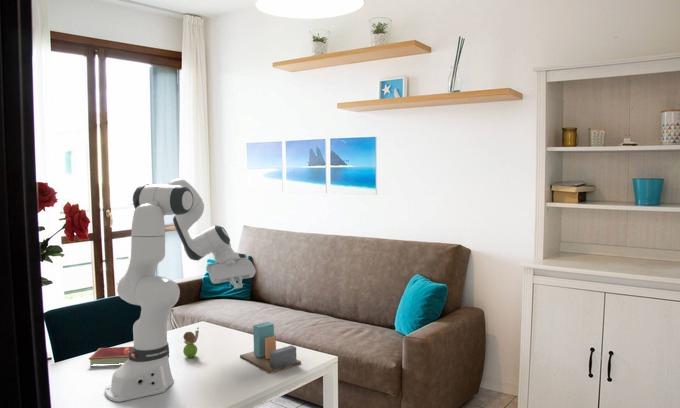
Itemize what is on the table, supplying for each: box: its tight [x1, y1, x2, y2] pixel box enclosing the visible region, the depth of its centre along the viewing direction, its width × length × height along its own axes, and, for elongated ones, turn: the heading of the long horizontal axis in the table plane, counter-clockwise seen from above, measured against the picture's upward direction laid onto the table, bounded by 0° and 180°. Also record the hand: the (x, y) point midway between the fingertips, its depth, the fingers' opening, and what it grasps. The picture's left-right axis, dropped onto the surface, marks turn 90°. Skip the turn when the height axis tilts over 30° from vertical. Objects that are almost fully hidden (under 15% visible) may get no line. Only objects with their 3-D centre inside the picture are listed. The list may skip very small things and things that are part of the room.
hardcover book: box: [88, 346, 133, 366], centre depth 211 cm, size 12×21×4 cm, turn 96°
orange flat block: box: [265, 335, 277, 359], centre depth 208 cm, size 9×2×8 cm, turn 130°
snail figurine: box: [182, 326, 200, 358], centre depth 213 cm, size 5×6×12 cm
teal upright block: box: [252, 321, 275, 358], centre depth 210 cm, size 7×6×12 cm
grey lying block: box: [270, 345, 298, 370], centre depth 200 cm, size 10×3×6 cm, turn 130°
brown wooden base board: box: [239, 350, 302, 374], centre depth 208 cm, size 14×22×1 cm, turn 40°
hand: (239, 287), depth 223 cm, fingers closed
